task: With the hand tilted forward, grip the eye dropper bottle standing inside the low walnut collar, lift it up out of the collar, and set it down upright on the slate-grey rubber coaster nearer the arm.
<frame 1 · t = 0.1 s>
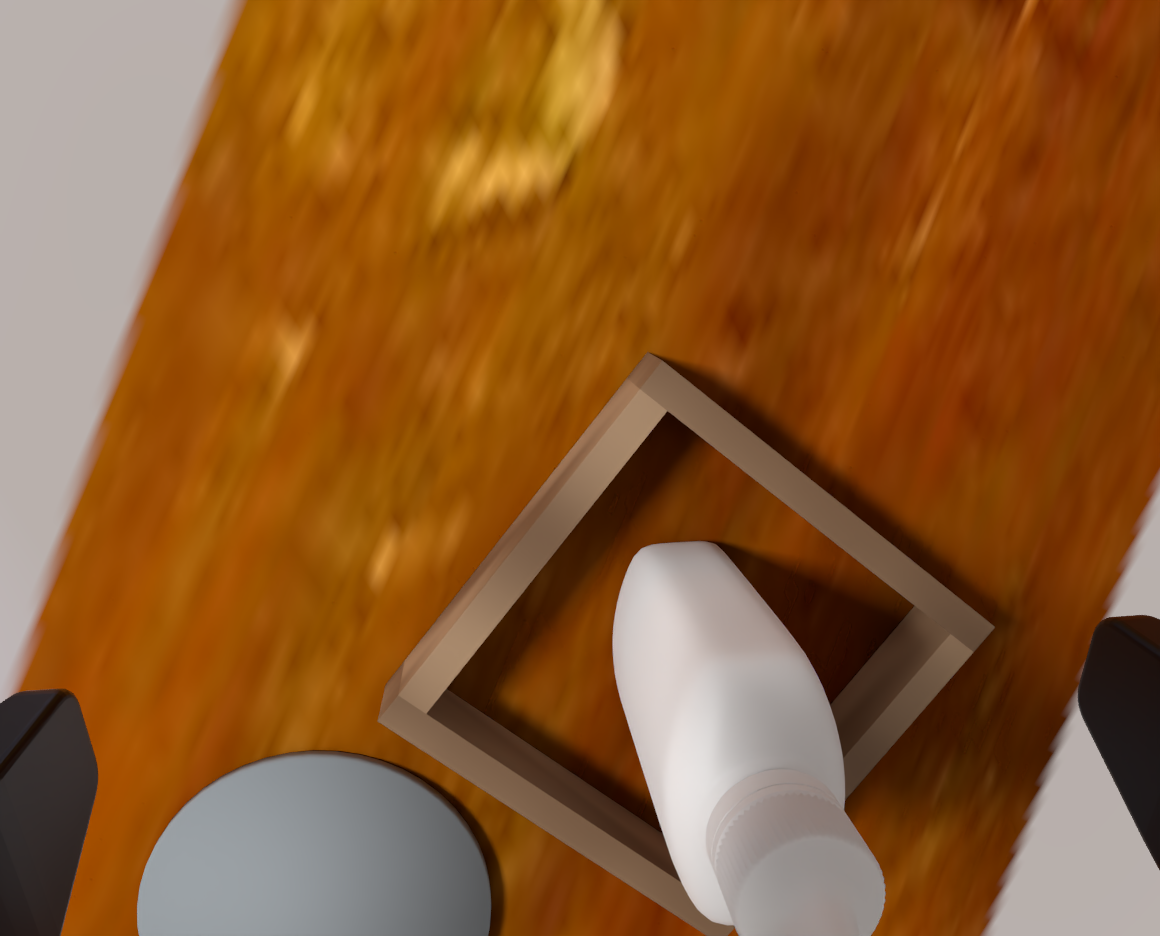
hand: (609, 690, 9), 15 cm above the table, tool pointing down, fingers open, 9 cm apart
eye dropper bottle: (675, 637, 26), resting in walnut collar
walnut collar: (677, 641, 25), on the table
rubber coaster: (319, 906, 26), on the table
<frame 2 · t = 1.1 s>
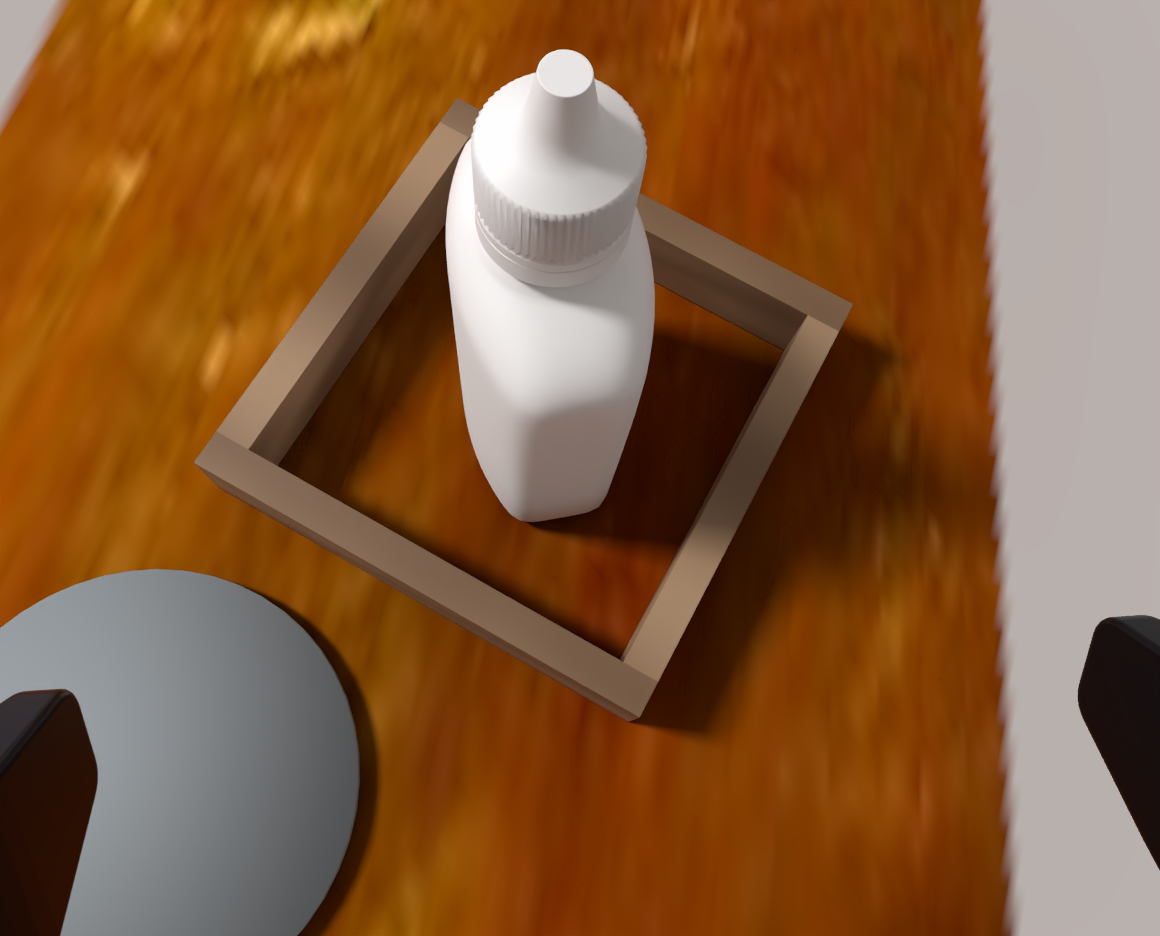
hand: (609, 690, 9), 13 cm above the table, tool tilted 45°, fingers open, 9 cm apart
eye dropper bottle: (537, 414, 24), resting in walnut collar
walnut collar: (537, 411, 23), on the table
rubber coaster: (141, 786, 20), on the table
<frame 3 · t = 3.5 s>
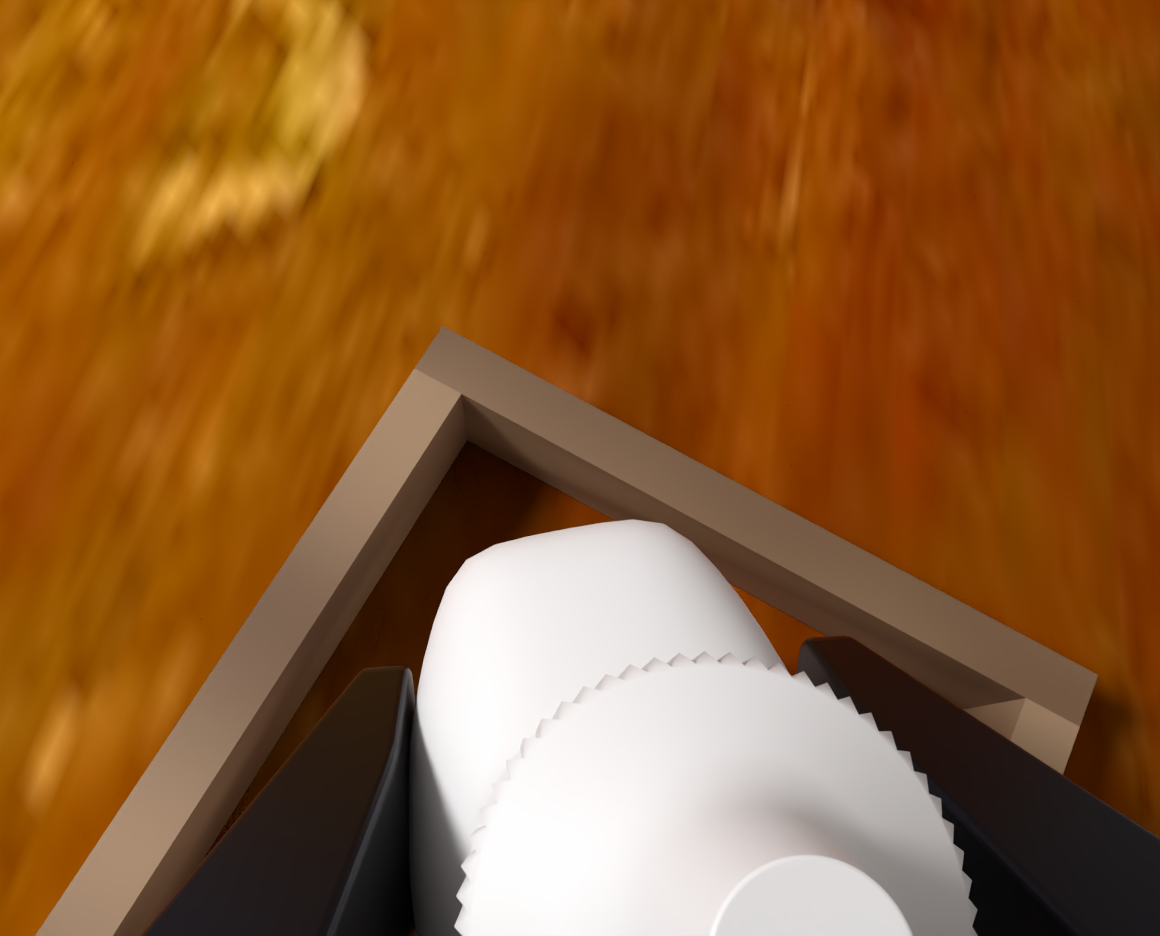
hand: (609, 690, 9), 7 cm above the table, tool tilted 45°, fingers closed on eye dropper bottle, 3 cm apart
eye dropper bottle: (573, 831, 15), resting in walnut collar, touching gripper
walnut collar: (574, 832, 14), on the table
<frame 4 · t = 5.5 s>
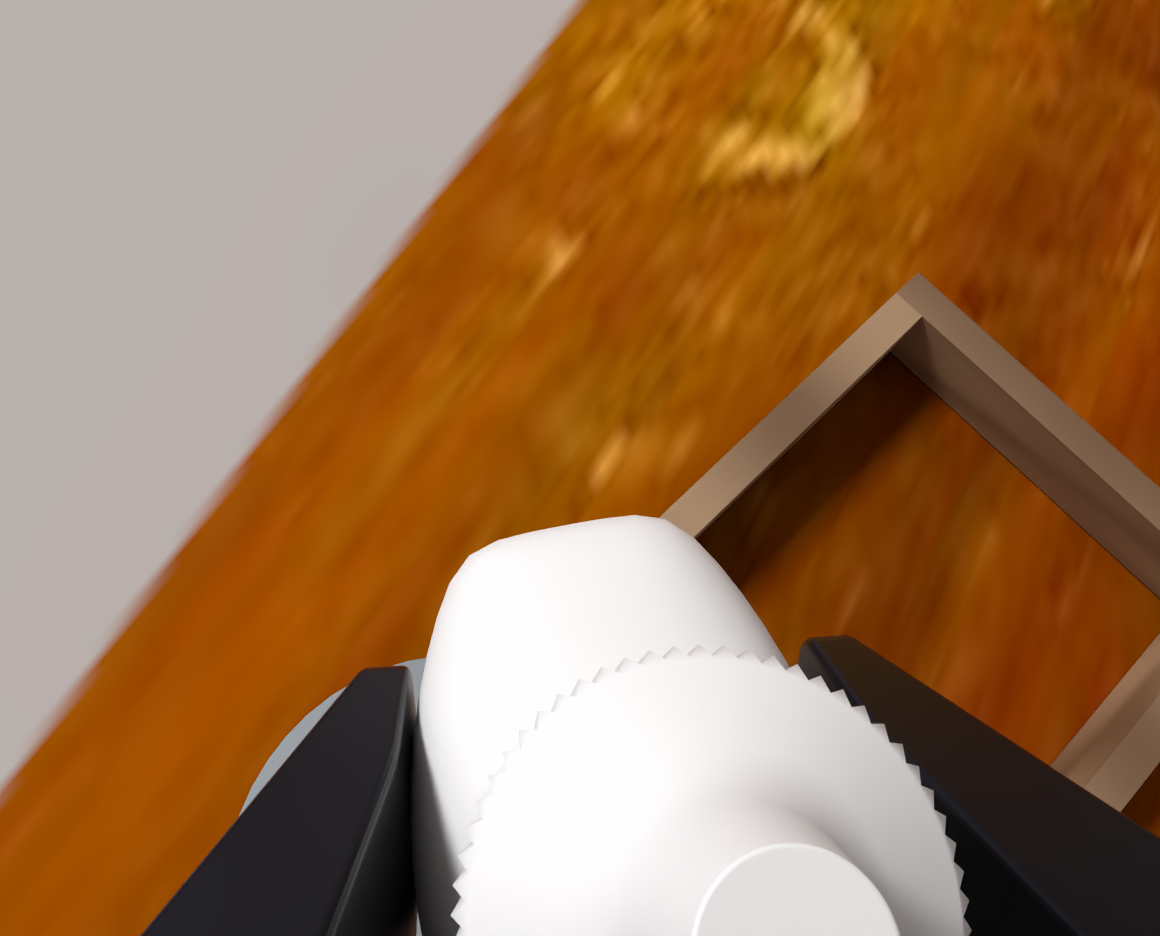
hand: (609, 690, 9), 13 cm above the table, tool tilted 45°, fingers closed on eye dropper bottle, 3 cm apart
eye dropper bottle: (580, 826, 15), point 6 cm above the table, touching gripper
walnut collar: (910, 605, 23), on the table
rubber coaster: (451, 878, 20), on the table
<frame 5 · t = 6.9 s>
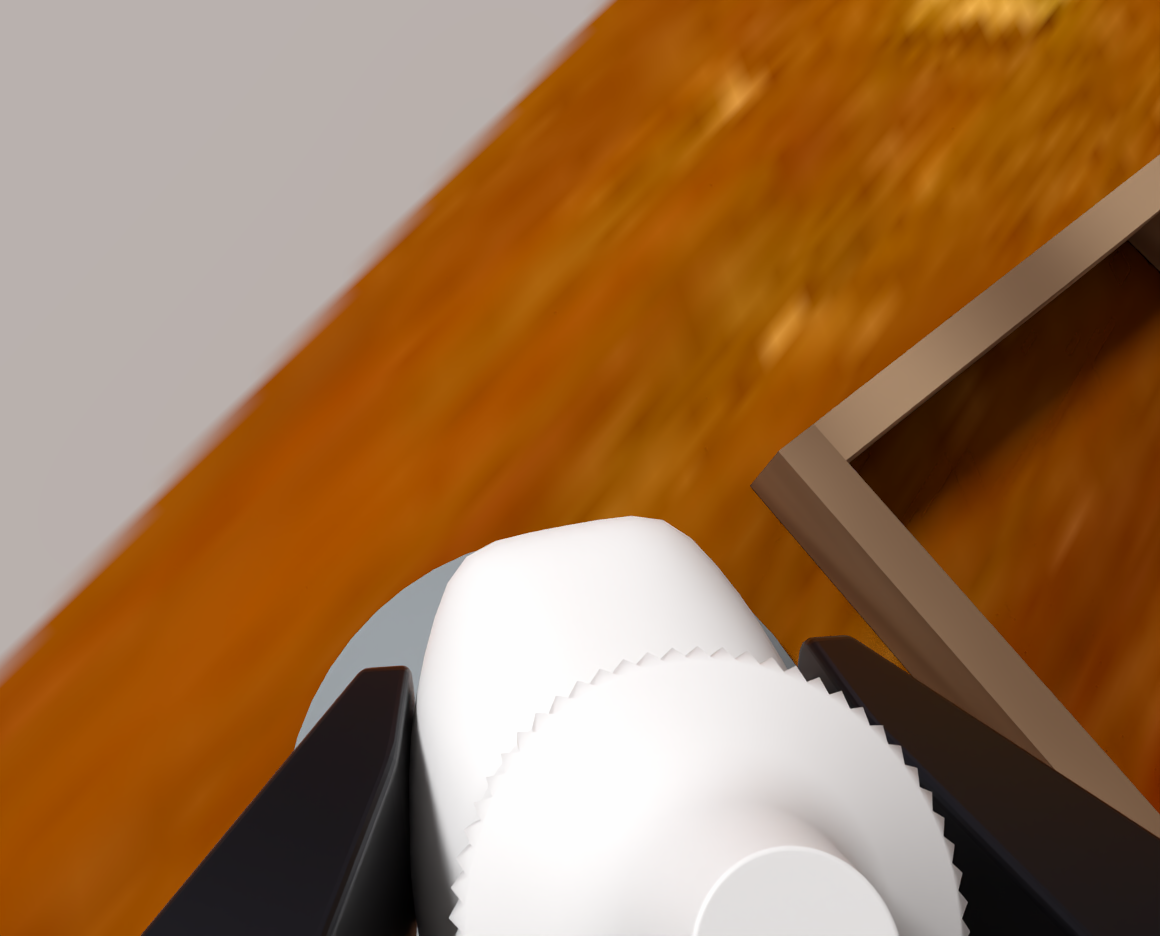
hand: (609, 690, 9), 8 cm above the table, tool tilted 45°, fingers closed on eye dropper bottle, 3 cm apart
eye dropper bottle: (577, 827, 15), point 1 cm above the table, touching gripper
walnut collar: (1146, 538, 18), on the table
rubber coaster: (566, 807, 16), on the table
when the fingers open (8 cm above the table, at t = 7.7 s): eye dropper bottle stays where it is, resting on rubber coaster.
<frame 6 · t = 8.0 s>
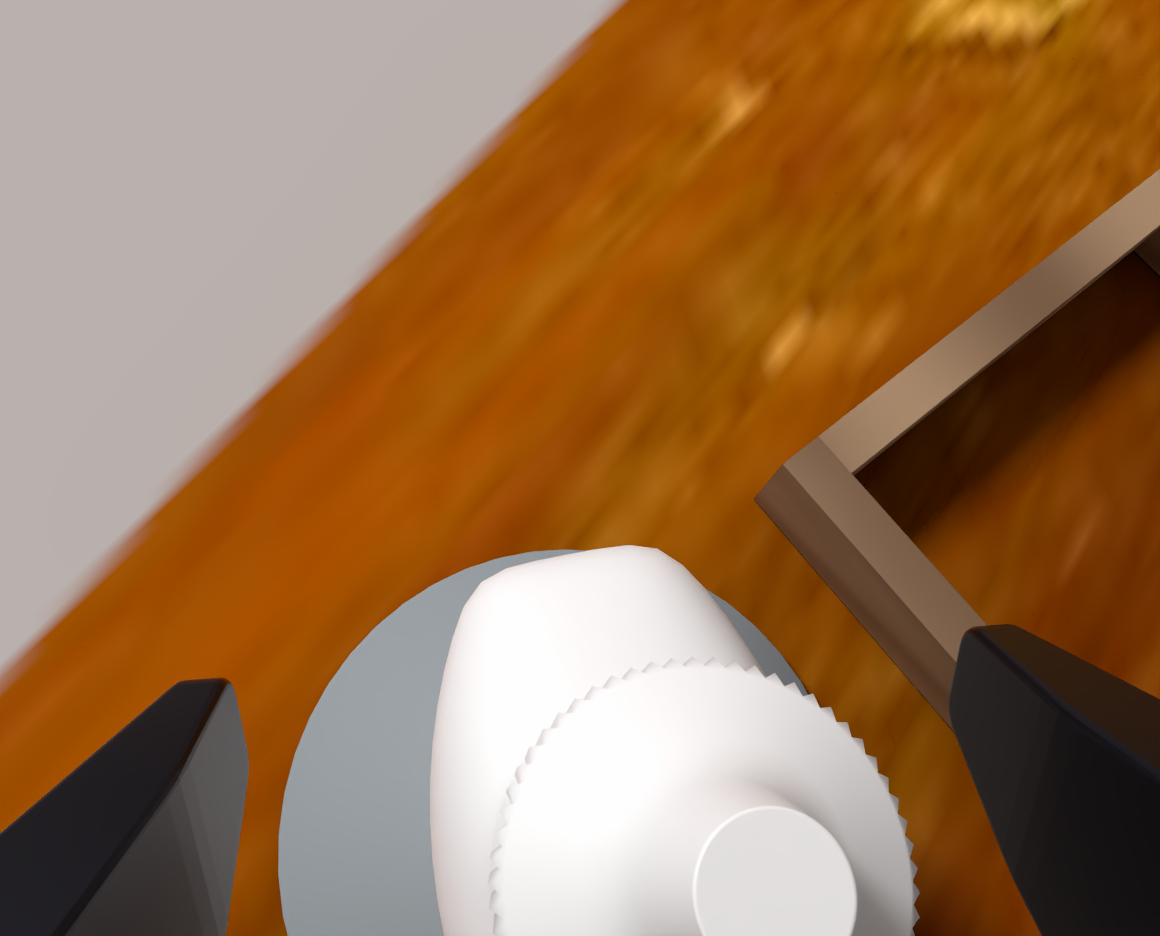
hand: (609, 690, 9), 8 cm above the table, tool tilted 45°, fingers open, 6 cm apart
eye dropper bottle: (573, 839, 16), resting on rubber coaster
walnut collar: (1155, 551, 18), on the table
rubber coaster: (568, 827, 16), on the table
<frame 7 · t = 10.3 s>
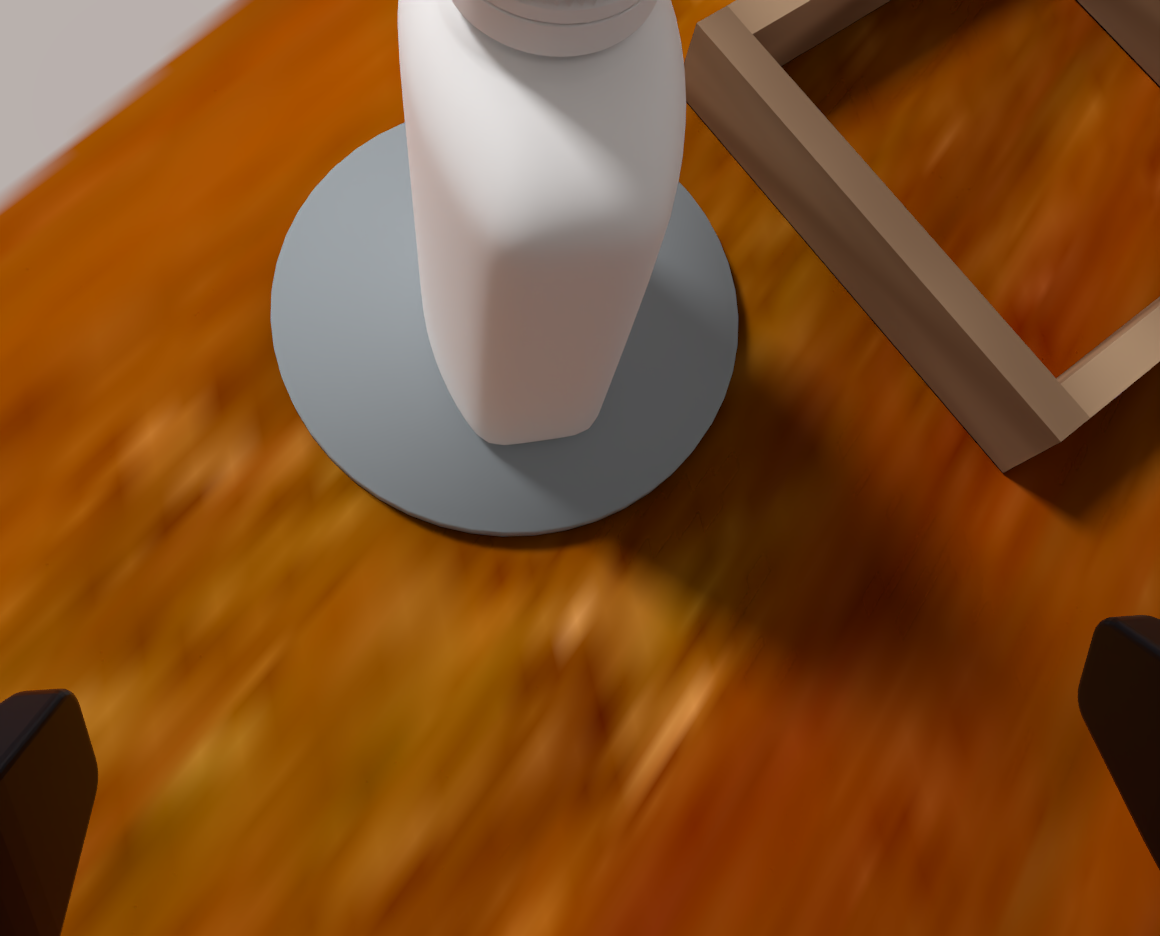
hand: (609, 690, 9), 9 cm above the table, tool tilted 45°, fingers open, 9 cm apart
eye dropper bottle: (513, 316, 19), resting on rubber coaster
walnut collar: (1006, 153, 22), on the table
rubber coaster: (509, 313, 19), on the table
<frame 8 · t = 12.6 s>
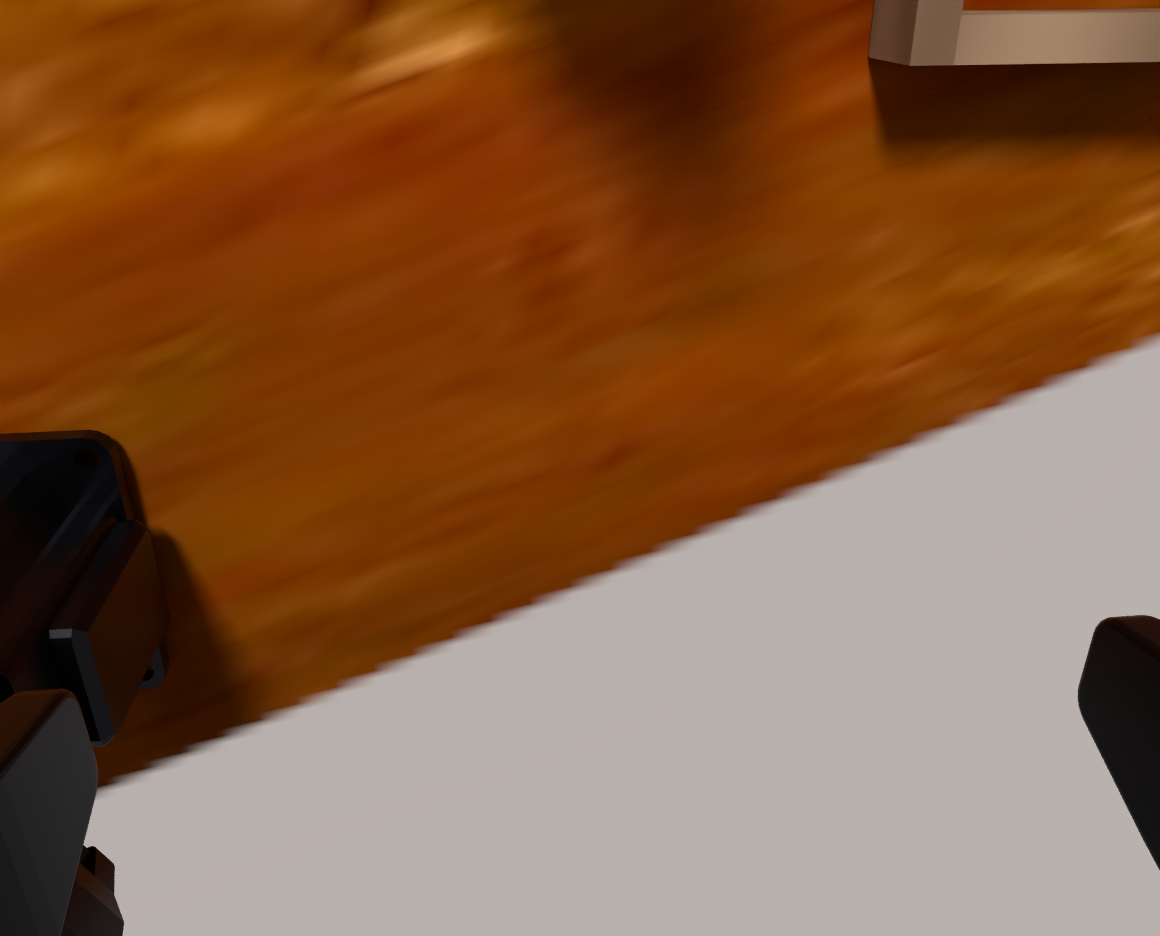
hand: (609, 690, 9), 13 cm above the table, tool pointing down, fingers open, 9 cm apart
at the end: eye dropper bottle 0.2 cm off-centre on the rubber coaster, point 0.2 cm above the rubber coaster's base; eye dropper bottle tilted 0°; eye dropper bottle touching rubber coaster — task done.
